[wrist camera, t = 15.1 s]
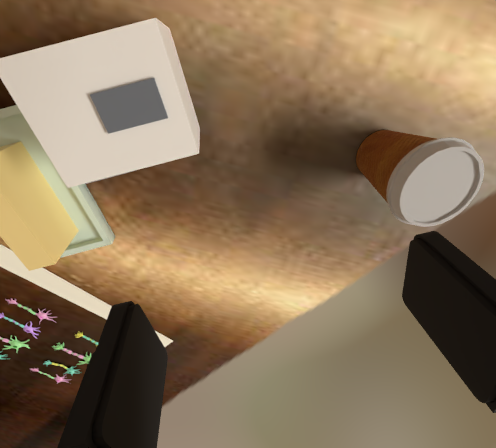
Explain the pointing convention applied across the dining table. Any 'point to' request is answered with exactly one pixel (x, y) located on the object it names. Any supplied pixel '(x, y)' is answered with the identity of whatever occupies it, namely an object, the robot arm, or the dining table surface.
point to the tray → (59, 186)
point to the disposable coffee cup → (421, 175)
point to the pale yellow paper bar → (31, 211)
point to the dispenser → (106, 101)
